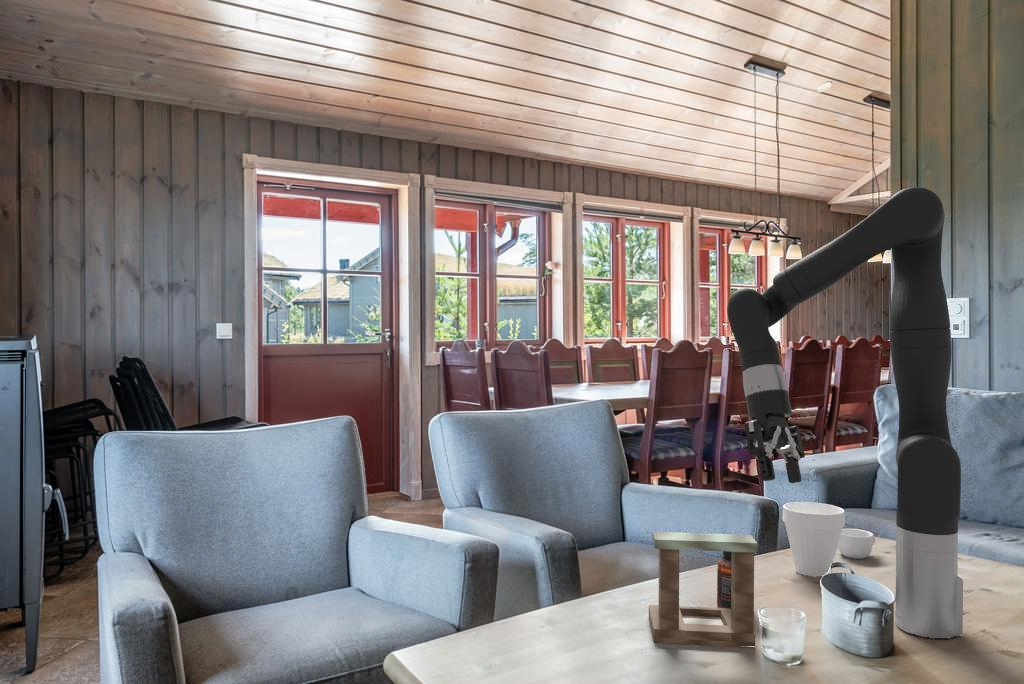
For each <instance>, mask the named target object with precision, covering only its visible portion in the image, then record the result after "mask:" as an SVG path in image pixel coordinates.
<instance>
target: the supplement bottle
mask: <svg viewBox="0 0 1024 684" xmlns="http://www.w3.org/2000/svg"><path fill="white" fill-rule="evenodd" d="M722 554H723V556H722V557H719V559H718V561H717V569H716V570H717V571H716V573H717V575H716V576H717V577H716V581H717V583H716V588H717V589H716V591H717V592H716V606H717V607H716V608H730V609H731V552H728V551H722Z"/></svg>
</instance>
